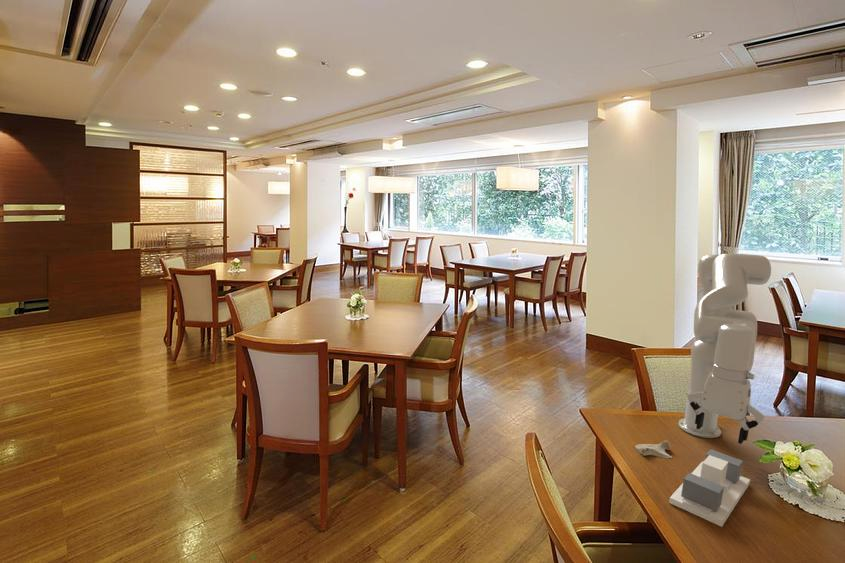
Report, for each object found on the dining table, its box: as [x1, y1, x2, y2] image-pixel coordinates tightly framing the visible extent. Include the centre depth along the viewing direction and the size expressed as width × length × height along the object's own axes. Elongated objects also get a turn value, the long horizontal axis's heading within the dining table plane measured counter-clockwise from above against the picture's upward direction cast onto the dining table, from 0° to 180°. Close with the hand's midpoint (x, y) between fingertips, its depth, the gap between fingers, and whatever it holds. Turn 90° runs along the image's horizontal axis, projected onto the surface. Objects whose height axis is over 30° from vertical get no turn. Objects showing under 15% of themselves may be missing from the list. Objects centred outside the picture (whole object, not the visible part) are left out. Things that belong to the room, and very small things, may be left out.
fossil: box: [634, 440, 673, 459], centre depth 148 cm, size 7×11×3 cm, turn 87°
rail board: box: [668, 449, 751, 527], centre depth 127 cm, size 26×12×7 cm, turn 134°
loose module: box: [700, 455, 728, 487], centre depth 127 cm, size 6×4×7 cm
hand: (719, 434), depth 125 cm, fingers open, 9 cm apart
